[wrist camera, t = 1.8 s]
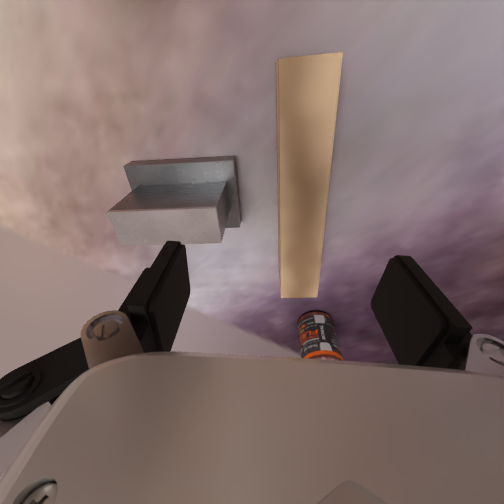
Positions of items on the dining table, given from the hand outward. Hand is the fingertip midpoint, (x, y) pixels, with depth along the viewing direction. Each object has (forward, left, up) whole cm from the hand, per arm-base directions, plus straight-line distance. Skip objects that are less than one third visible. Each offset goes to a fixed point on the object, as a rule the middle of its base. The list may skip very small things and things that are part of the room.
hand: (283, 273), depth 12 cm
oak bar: (-3, +3, -20) cm, 21 cm away
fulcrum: (+10, +3, -20) cm, 23 cm away
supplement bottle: (-7, +27, -20) cm, 35 cm away
